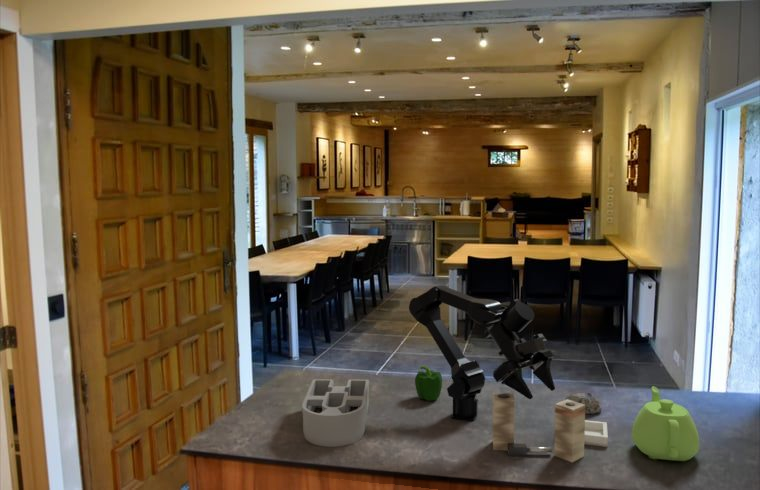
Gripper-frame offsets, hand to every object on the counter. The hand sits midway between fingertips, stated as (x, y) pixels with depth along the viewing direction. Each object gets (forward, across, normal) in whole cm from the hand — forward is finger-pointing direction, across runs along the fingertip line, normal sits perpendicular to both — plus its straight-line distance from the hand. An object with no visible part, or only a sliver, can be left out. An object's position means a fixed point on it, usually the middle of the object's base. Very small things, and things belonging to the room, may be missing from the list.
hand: (542, 394), depth 158 cm
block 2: (+15, 0, +4) cm, 16 cm away
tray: (+12, +13, +7) cm, 19 cm away
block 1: (+5, -8, +14) cm, 17 cm away
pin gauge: (+10, -7, +9) cm, 15 cm away
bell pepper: (-21, +2, +40) cm, 45 cm away
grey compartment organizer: (-22, -32, +42) cm, 56 cm away
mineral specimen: (+5, +28, +15) cm, 32 cm away
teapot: (+25, +20, -6) cm, 32 cm away
